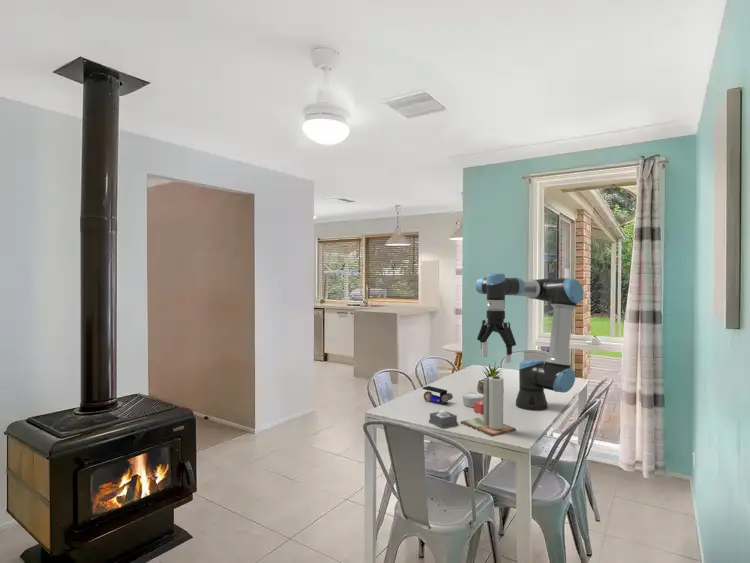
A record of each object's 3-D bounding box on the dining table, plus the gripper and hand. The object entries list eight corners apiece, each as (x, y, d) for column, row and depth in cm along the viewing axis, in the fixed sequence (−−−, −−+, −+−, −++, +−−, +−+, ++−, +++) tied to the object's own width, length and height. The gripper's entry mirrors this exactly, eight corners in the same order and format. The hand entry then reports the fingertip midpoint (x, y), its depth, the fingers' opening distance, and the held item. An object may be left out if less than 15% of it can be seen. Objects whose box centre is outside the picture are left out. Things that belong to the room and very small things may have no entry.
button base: (444, 418, 207) (444, 410, 207) (458, 424, 199) (458, 415, 199) (428, 422, 202) (428, 413, 202) (441, 428, 194) (441, 418, 194)
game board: (484, 418, 208) (484, 416, 208) (515, 430, 191) (515, 428, 191) (460, 423, 201) (460, 421, 201) (491, 436, 184) (491, 434, 184)
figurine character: (452, 406, 232) (427, 398, 241) (454, 391, 231) (428, 384, 241) (446, 409, 227) (420, 400, 236) (447, 394, 226) (421, 386, 235)
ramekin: (481, 402, 234) (481, 391, 234) (487, 408, 223) (487, 397, 223) (459, 402, 234) (459, 392, 234) (464, 408, 223) (465, 398, 223)
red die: (481, 410, 220) (481, 400, 220) (487, 412, 216) (487, 403, 216) (474, 411, 217) (474, 402, 217) (480, 414, 214) (480, 404, 213)
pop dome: (444, 417, 204) (444, 406, 204) (452, 421, 199) (452, 410, 199) (433, 419, 201) (433, 408, 201) (442, 423, 196) (442, 412, 196)
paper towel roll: (505, 427, 192) (506, 377, 192) (499, 431, 188) (499, 379, 187) (490, 423, 197) (490, 374, 197) (483, 427, 192) (483, 377, 192)
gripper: (469, 308, 200) (469, 356, 200) (511, 312, 178) (511, 365, 179) (481, 307, 204) (481, 354, 204) (525, 311, 182) (525, 363, 182)
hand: (495, 359), depth 191 cm, fingers open, 13 cm apart
